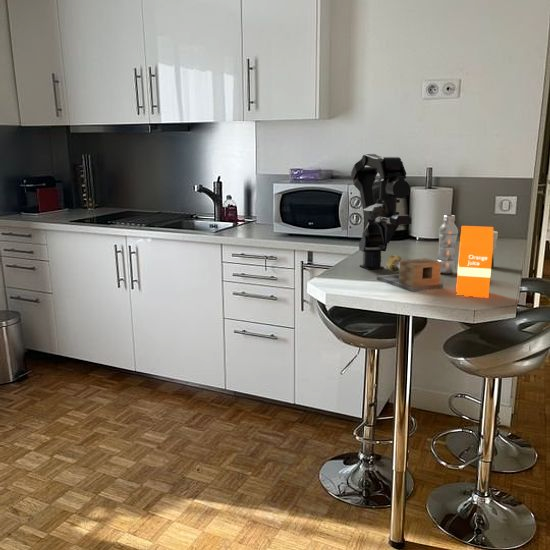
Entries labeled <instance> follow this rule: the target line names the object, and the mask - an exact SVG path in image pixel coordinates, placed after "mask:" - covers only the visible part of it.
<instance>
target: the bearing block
mask: <svg viewBox="0 0 550 550" xmlns="http://www.w3.org/2000/svg"><path fill="white" fill-rule="evenodd" d="M440 271H441V262H438V261H437V260H434V259H430V258H425V257H424V258H416V259H415V258H413V259H405V260H403V259H402V261H400V270H399V273H393V274H385V275H376V280H378V281H381V282H383V283H386V284H389V285H391V286H393V287H394V286H395V287H397V288H401V289H403V290H406V291H409V292H412V291H413V292H420V290H421V291H428V290H427V289H429V290H435V289H434V288H437V289H443V288H444V284H442V283H440V282H441V273H440ZM442 287H443V288H442Z"/></svg>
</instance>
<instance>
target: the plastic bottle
mask: <svg viewBox="0 0 550 550" xmlns="http://www.w3.org/2000/svg"><path fill="white" fill-rule="evenodd" d="M442 220H443V223H441V225H440V227H439V228H438V253H437V254H438V255H437V259H436V261H438V262H441V271H440V274H445V275H446V274H453V273H454V272H455V270H456V258H455V257H456V254H455V252H456V245H457V244H456V243H457V239H458V234H459V229H458V227H457V225H456V224H455V221H456V215H454V214H444V215H443V218H442Z"/></svg>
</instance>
